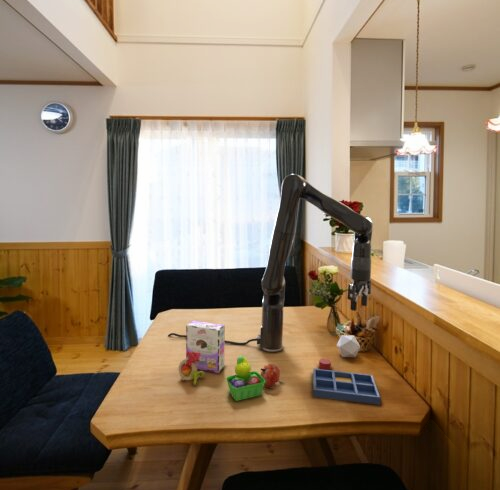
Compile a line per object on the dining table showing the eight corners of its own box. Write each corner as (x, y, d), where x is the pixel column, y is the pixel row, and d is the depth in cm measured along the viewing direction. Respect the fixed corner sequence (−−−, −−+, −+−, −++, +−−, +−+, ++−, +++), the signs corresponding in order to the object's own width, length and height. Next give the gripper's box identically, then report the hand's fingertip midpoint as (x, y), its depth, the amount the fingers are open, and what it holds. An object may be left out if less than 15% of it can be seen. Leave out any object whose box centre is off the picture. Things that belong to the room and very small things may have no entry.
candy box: (224, 366, 132) (225, 324, 131) (218, 374, 126) (219, 330, 126) (192, 360, 137) (193, 319, 136) (185, 367, 131) (185, 324, 130)
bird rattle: (179, 390, 119) (202, 385, 116) (168, 359, 119) (190, 353, 117) (188, 381, 125) (209, 375, 122) (177, 352, 125) (198, 345, 123)
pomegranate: (273, 383, 125) (252, 369, 123) (286, 368, 124) (265, 353, 123) (277, 398, 118) (254, 382, 116) (291, 382, 117) (268, 366, 115)
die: (355, 364, 138) (366, 342, 140) (335, 351, 139) (347, 329, 142) (349, 362, 146) (360, 341, 148) (330, 350, 147) (341, 329, 150)
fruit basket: (233, 404, 108) (234, 369, 108) (224, 389, 116) (224, 357, 116) (265, 396, 113) (266, 363, 112) (254, 383, 121) (255, 351, 120)
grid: (313, 396, 114) (313, 389, 114) (313, 374, 128) (313, 368, 128) (380, 404, 110) (380, 397, 110) (372, 381, 124) (372, 374, 124)
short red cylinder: (319, 370, 131) (319, 363, 131) (318, 364, 135) (319, 357, 135) (330, 371, 130) (331, 364, 130) (330, 366, 135) (330, 359, 134)
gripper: (360, 263, 143) (358, 302, 144) (342, 268, 133) (340, 309, 134) (378, 266, 138) (376, 306, 139) (360, 271, 128) (358, 314, 129)
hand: (358, 307), depth 136 cm, fingers open, 8 cm apart
